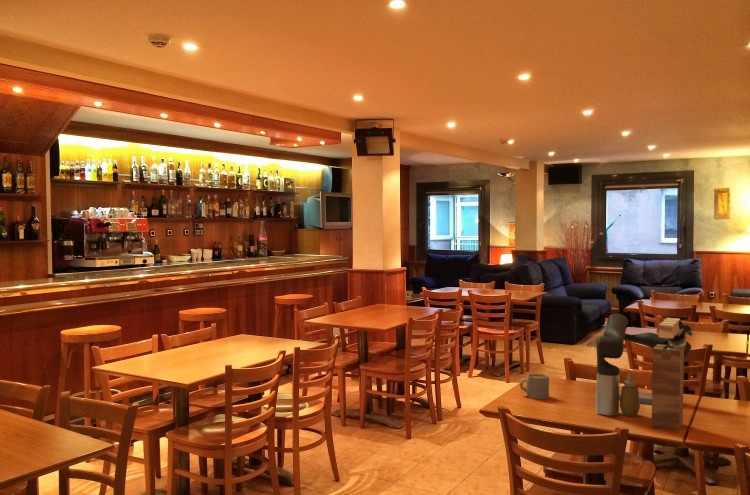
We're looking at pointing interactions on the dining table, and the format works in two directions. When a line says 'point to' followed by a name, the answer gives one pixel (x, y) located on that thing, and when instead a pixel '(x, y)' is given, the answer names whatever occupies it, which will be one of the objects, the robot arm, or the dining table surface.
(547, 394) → the coffee mug
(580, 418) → the dining table surface
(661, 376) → the stand
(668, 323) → the bar
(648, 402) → the board
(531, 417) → the dining table surface
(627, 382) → the squeeze bottle
